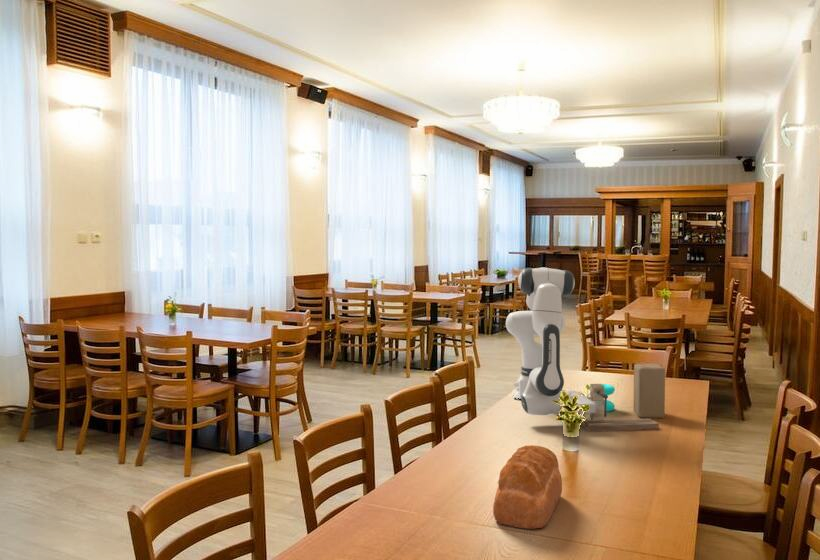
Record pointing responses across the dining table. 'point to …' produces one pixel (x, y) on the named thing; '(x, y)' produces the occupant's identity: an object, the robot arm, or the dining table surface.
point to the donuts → (608, 391)
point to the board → (621, 425)
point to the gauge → (598, 395)
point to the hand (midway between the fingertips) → (599, 401)
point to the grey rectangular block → (649, 390)
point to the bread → (528, 488)
